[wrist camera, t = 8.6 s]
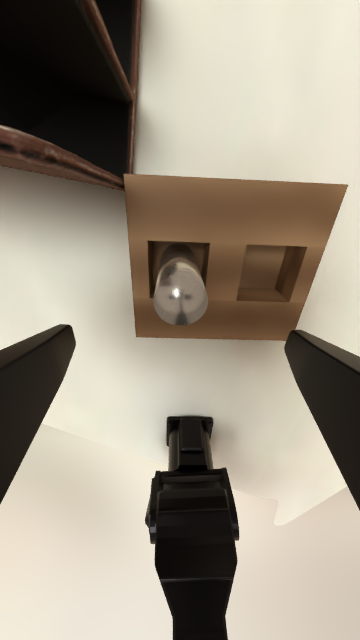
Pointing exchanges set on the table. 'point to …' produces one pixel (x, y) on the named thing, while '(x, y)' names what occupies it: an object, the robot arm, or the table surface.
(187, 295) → the pin
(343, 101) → the table surface
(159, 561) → the robot arm
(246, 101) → the table surface
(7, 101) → the letter holder
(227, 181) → the block
